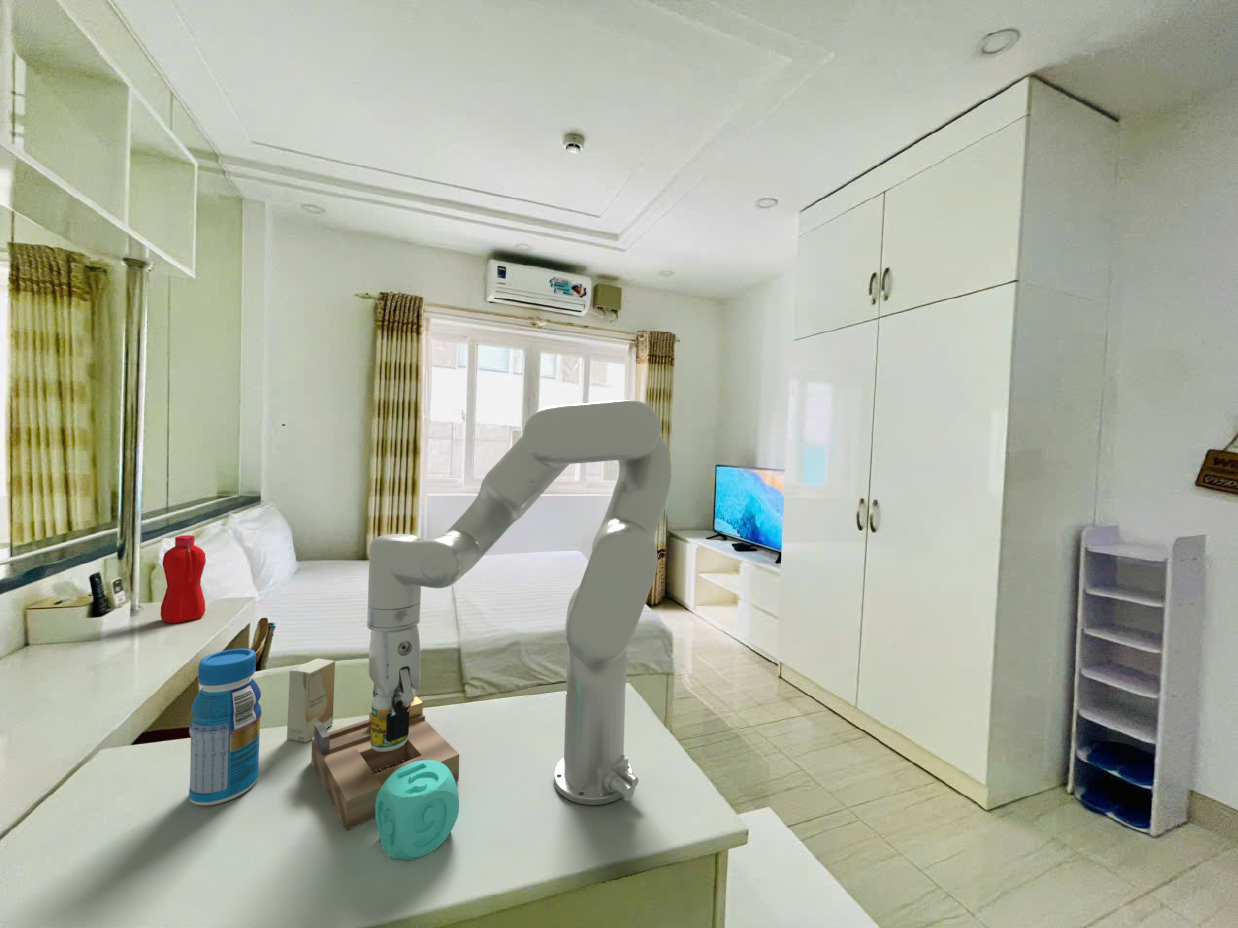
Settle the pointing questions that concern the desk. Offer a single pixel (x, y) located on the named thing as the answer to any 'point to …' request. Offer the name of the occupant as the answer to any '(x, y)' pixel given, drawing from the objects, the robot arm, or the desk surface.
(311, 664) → the skincare box
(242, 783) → the beverage bottle
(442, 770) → the decorative dice
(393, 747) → the supplement bottle
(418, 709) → the latch bar
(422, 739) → the socket block
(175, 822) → the desk surface
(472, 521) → the robot arm
